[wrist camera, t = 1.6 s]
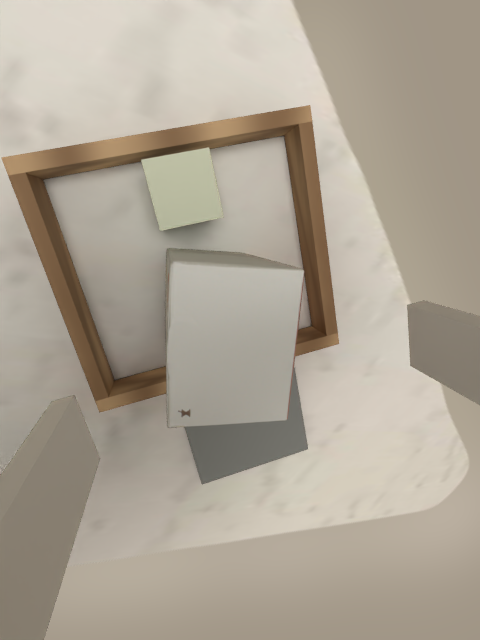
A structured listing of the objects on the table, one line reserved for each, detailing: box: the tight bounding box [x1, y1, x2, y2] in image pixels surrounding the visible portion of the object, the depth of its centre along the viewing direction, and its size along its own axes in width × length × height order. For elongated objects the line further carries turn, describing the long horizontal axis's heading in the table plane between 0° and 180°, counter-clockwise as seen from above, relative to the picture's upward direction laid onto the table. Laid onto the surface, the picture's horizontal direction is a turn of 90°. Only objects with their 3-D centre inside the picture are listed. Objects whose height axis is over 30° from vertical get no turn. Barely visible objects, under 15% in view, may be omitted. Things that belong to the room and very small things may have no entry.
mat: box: [185, 368, 308, 484], centre depth 31 cm, size 11×11×1 cm
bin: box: [2, 105, 339, 412], centre depth 25 cm, size 20×18×3 cm
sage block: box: [141, 148, 224, 231], centre depth 23 cm, size 4×4×6 cm
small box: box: [165, 248, 305, 428], centre depth 22 cm, size 8×6×13 cm
